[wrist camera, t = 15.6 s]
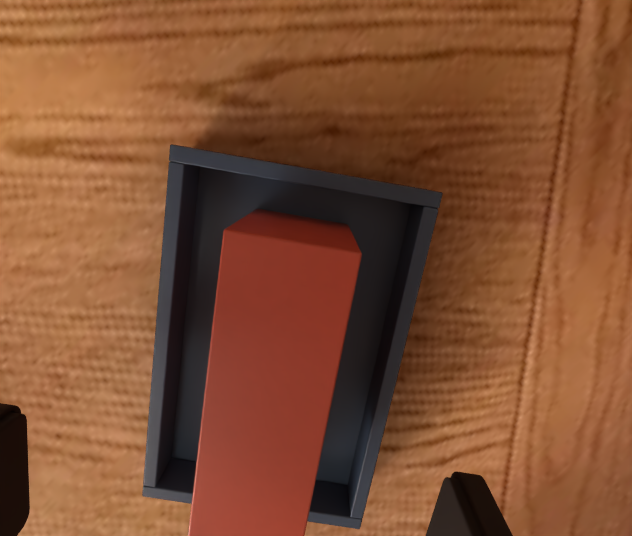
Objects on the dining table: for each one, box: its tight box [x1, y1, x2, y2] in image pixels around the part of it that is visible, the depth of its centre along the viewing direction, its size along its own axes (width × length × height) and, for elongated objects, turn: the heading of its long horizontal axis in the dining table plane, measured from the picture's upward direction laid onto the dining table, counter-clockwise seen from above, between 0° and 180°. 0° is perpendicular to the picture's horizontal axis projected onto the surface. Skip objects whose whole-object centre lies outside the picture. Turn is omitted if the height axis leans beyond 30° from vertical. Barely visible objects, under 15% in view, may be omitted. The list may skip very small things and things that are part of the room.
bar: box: [188, 209, 362, 536], centre depth 16 cm, size 4×12×6 cm, turn 170°
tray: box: [142, 145, 442, 529], centre depth 18 cm, size 16×10×2 cm, turn 170°
